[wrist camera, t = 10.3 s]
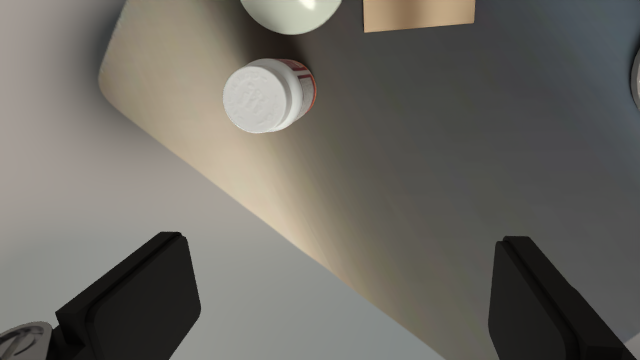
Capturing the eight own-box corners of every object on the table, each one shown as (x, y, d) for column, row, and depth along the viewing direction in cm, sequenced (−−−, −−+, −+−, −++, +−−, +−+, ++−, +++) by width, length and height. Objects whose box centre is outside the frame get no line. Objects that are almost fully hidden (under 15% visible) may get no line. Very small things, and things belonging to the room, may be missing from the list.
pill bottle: (250, 81, 38) (199, 88, 27) (295, 46, 36) (260, 40, 25) (283, 129, 39) (246, 154, 28) (329, 98, 37) (308, 112, 26)
